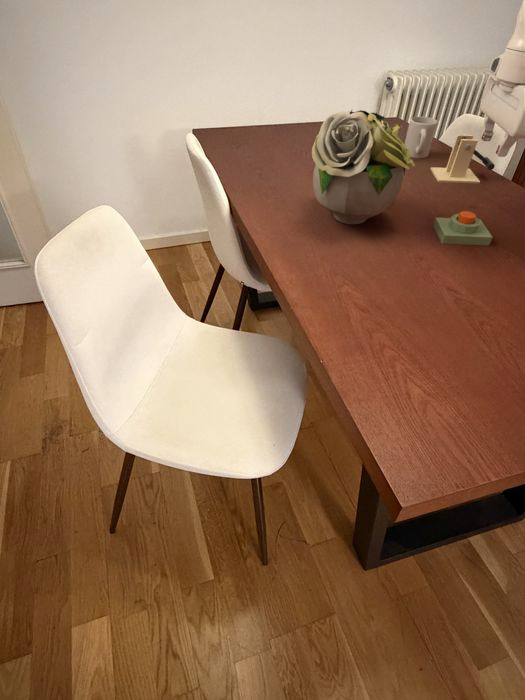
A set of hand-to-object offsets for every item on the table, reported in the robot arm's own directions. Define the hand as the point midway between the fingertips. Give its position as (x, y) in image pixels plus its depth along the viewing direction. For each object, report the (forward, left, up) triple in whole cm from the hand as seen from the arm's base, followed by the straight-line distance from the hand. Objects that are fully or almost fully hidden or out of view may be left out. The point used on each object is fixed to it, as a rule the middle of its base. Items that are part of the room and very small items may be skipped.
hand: (492, 147), depth 85 cm
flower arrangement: (+26, -6, -20) cm, 33 cm away
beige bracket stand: (-8, -34, -20) cm, 40 cm away
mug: (0, -51, -20) cm, 55 cm away
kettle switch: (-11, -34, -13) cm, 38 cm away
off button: (0, +1, -16) cm, 16 cm away
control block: (0, +1, -20) cm, 20 cm away
